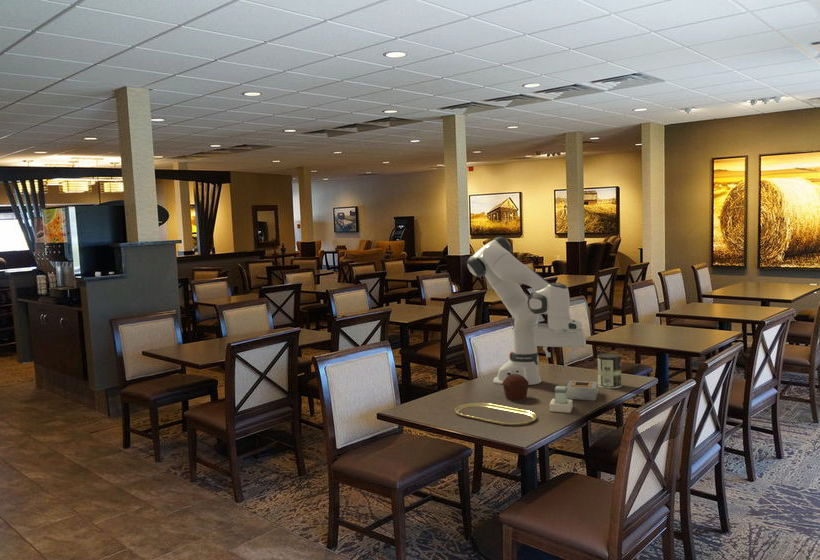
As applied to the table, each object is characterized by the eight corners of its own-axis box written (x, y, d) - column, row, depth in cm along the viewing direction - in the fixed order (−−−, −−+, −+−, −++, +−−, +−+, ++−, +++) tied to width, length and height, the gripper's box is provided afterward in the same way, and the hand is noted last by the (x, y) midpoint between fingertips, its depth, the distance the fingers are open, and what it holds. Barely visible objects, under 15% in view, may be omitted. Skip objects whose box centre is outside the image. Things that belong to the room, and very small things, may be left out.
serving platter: (519, 430, 235) (519, 426, 235) (445, 414, 259) (445, 410, 258) (545, 417, 249) (545, 413, 249) (473, 404, 272) (473, 400, 272)
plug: (555, 410, 257) (554, 388, 256) (556, 407, 261) (556, 385, 260) (565, 411, 256) (565, 388, 255) (567, 408, 259) (566, 386, 259)
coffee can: (617, 382, 297) (617, 352, 295) (624, 388, 286) (624, 357, 285) (595, 383, 297) (594, 353, 296) (601, 389, 287) (600, 357, 285)
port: (566, 398, 273) (566, 386, 273) (569, 391, 284) (569, 379, 284) (595, 400, 269) (595, 387, 268) (597, 393, 280) (597, 381, 280)
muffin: (528, 401, 271) (528, 378, 270) (502, 401, 273) (501, 378, 272) (529, 394, 282) (528, 372, 282) (503, 394, 285) (503, 371, 284)
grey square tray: (549, 411, 256) (549, 403, 256) (552, 405, 263) (552, 398, 263) (570, 412, 253) (570, 405, 253) (572, 407, 261) (572, 399, 260)
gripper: (531, 324, 258) (532, 358, 260) (583, 325, 250) (584, 360, 251) (535, 322, 264) (536, 355, 265) (586, 322, 256) (586, 357, 257)
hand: (560, 357), depth 258 cm, fingers open, 8 cm apart
